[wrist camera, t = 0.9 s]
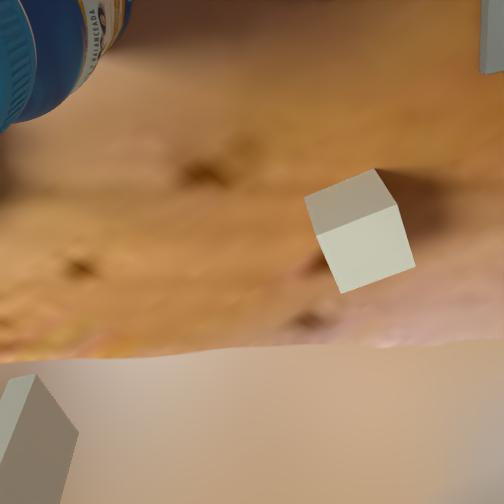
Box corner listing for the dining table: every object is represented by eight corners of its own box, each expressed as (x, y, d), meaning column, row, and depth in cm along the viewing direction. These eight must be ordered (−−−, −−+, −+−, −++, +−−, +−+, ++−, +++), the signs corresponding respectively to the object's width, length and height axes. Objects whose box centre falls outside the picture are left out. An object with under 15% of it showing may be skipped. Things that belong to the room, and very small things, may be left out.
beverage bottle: (67, -138, 26) (-195, -250, 9) (164, 7, 30) (101, 103, 14) (-38, -40, 28) (-397, 7, 12) (67, 82, 32) (-89, 242, 16)
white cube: (373, 167, 38) (397, 203, 33) (391, 225, 41) (416, 266, 36) (303, 196, 39) (315, 236, 34) (326, 250, 42) (341, 294, 37)
